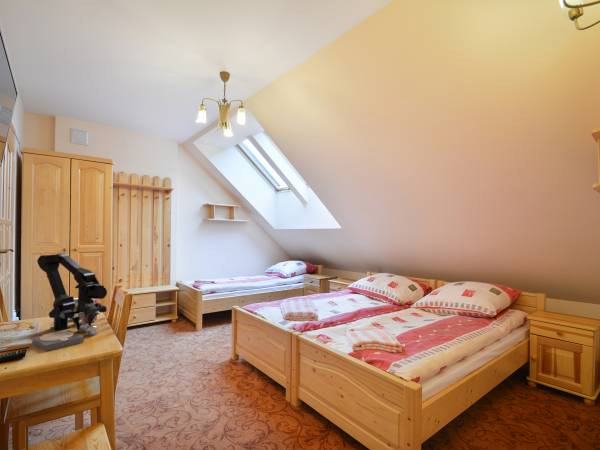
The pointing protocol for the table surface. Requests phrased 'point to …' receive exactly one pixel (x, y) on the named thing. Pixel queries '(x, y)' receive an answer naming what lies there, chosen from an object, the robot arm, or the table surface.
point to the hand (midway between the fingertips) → (83, 328)
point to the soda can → (85, 317)
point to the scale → (57, 340)
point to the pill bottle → (77, 307)
